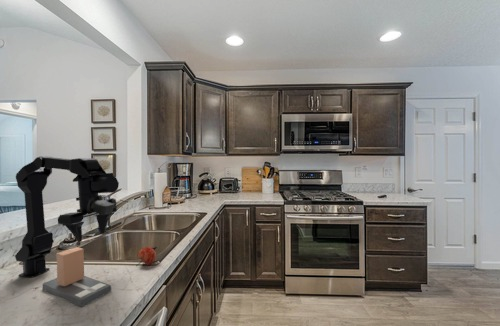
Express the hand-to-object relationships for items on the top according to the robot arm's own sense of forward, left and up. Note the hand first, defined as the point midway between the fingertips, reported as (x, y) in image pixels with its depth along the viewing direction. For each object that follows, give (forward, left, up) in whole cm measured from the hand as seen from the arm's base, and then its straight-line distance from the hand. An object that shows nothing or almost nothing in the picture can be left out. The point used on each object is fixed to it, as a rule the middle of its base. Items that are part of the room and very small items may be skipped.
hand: (91, 237), depth 84 cm
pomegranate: (+11, +15, -16) cm, 24 cm away
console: (0, -7, -15) cm, 17 cm away
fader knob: (-3, -6, -13) cm, 14 cm away
